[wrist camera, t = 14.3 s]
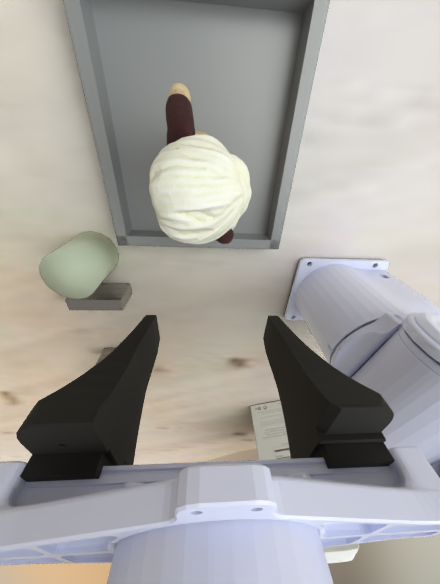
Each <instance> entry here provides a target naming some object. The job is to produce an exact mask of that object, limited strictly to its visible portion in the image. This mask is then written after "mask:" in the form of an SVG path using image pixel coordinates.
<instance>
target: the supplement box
mask: <svg viewBox="0 0 440 584" xmlns="http://www.w3.org/2000/svg"><path fill="white" fill-rule="evenodd" d="M250 409H251V415H252V421H253V427H254V433H255V439H256V445H257V451H258V457H259V460H272V459H291V456H290V449H289V443H288V437H287V431H286V426H285V420H284V415H283V410H282V406H281V401H275V402H270V403H264V404H259V405H253V406H250ZM358 548H359V544H350V545H341V546H333V547H325V548H323V550H324V553H325V557H326V560H327V563H336V562H345V561H351V560H353V558H354V556H355V554H356V553H357V551H358Z"/></svg>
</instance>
